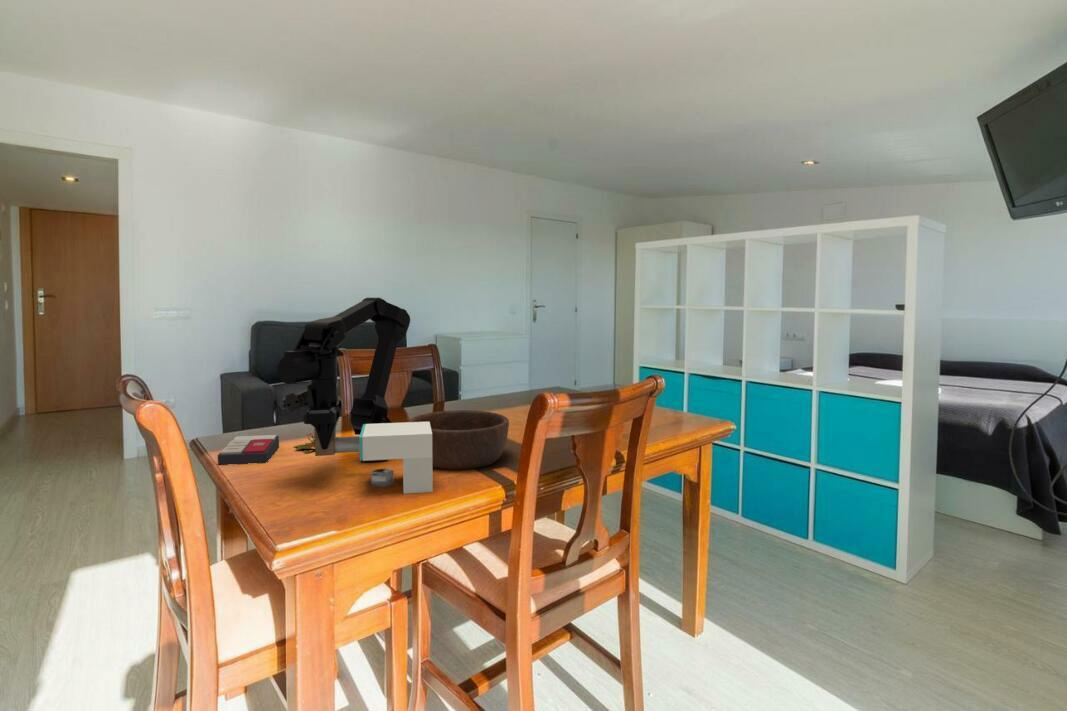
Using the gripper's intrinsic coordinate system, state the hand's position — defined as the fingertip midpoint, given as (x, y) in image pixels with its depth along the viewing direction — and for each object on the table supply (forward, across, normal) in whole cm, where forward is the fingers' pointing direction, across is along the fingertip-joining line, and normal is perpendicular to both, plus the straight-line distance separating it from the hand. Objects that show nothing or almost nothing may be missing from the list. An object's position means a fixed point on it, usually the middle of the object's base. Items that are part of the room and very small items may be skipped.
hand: (325, 446), depth 131 cm
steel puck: (+7, +7, +12) cm, 16 cm away
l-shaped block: (+7, +9, +16) cm, 19 cm away
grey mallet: (+2, 0, +6) cm, 7 cm away
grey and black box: (+8, -22, -21) cm, 31 cm away
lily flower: (+8, -27, -6) cm, 29 cm away
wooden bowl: (+8, -9, +31) cm, 33 cm away
